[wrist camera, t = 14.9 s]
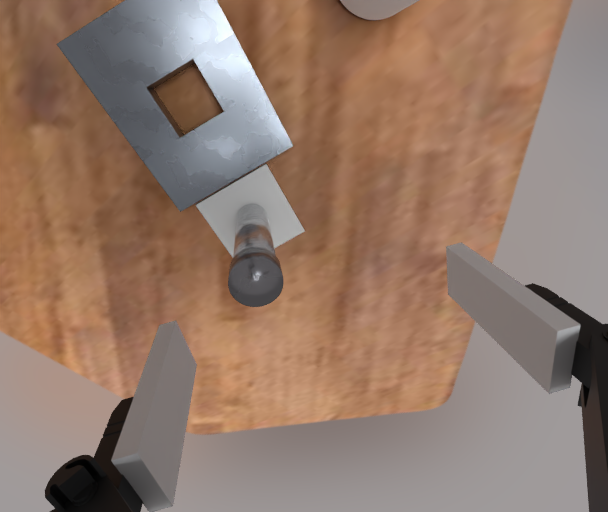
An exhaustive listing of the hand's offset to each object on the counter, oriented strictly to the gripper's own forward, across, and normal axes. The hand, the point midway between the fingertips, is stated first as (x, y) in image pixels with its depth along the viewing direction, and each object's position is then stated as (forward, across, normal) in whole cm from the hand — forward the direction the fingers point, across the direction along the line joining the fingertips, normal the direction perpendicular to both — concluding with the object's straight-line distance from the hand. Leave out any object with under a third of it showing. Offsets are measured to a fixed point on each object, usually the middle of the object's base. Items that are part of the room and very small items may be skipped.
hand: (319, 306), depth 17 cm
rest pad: (+21, -3, -2) cm, 21 cm away
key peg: (+21, -3, -2) cm, 21 cm away
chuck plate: (+21, -6, +10) cm, 24 cm away
